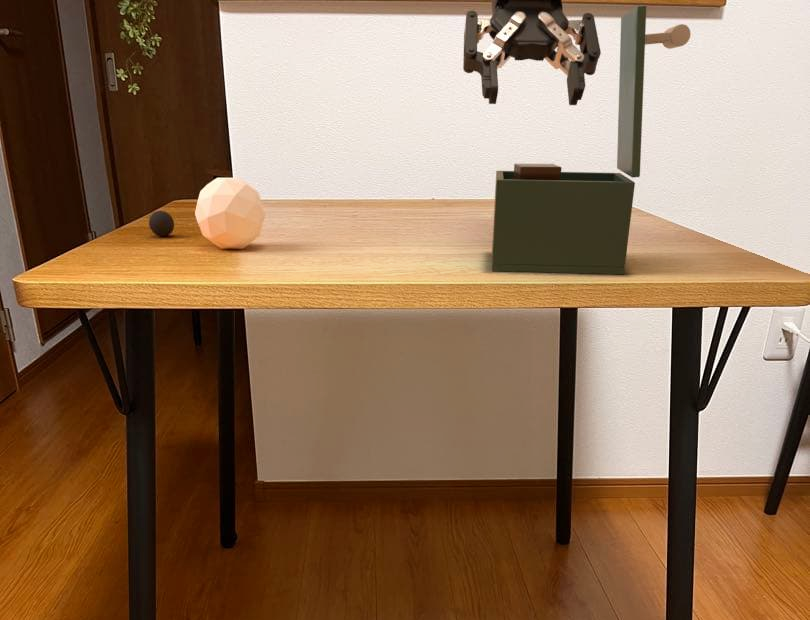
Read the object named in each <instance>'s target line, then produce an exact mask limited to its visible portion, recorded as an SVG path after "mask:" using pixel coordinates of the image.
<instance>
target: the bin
mask: <svg viewBox="0 0 810 620" xmlns="http://www.w3.org/2000/svg"><path fill="white" fill-rule="evenodd" d="M513 177H514V170H496V171H495V188H494V189H495V190H494V207H493V224H492V225H493V226H492V243H491V272H516V273H517V272H518V273H519V272H522V273H523V272H524V273H558V274H593V275H594V274H595V275H598V274H599V275H625V267H626V261H627V252H628V245H629V244H628V243H629V236H630V227H631V219H632V213H633V212H632V211H633V203H634V195H635V187H636V182H635V181H633V180H632V179H630V178H628V177H627V176H626V175H624V174H622V173H621V172H591V171H589V172H588V171H561V180H513Z"/></svg>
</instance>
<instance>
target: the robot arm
mask: <svg viewBox="0 0 810 620" xmlns="http://www.w3.org/2000/svg"><path fill="white" fill-rule="evenodd" d="M491 14H492V15H491V17H490V18H478V16H479V15H478V12H476V11H475V10H468V11H467V12H466V16H465V23H464V31H463V60H462V61H463V64H462V66H463V67H462V68H463V71H464V72H465V73H466V74H472V73H474V72H476V73H478V74H479V75H480V79H481V80H480V81H481V93H482V97H483V98H484V99H486V100H487V99H488V104H489V105H496V104H497V100H498V94H499V79H498V69H502V67H503V66H505V65H506V64H507V62H508V61H509V60H510V59H511V58H513V59H514V61H526V60H531V61H537V62H538V61H539V62H541V61H542V62H544V60H545V61H546V62H547V63H549V64H550V65H551V67H553V68H554V69H555V70H558V69H560V71H562V72H563V74H565V75H566V76H567V77H566V85H567V96H568V105H569V106H577V105H578V101H582V99H583V96H584V92H585V88H586V78H585V75H587V76H593V75H594V74H595V73H596V70H597V66H598V63H599V59H600V57H601V53H602V51H601V46H600V40H599V36H598V30H597V26H596V25H597V24H596V20H595V17H594V15H593V13H591V12H585V13H584V14H582V18H581V19H570V20H569V18H568V17H567V16H566V15H565V13H564V10H563V0H491ZM486 34H488V35H489V36H490V38H491V39H492V40H493V41H492V43H491V44H490V45H489V46H488V47H487V48H486V50H484V51H483V52H482V51H478V44H479V43H480V41H481V40H483V38H484V35H486ZM572 38H573V40H574V41H575V42H574V43H573V40H572ZM577 46H579V48H577Z"/></svg>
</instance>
